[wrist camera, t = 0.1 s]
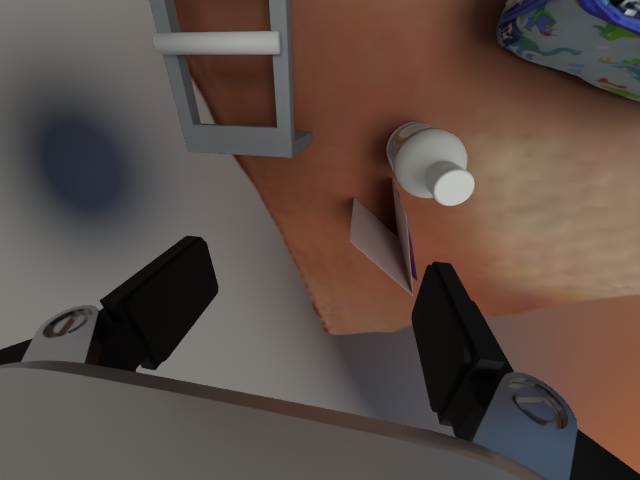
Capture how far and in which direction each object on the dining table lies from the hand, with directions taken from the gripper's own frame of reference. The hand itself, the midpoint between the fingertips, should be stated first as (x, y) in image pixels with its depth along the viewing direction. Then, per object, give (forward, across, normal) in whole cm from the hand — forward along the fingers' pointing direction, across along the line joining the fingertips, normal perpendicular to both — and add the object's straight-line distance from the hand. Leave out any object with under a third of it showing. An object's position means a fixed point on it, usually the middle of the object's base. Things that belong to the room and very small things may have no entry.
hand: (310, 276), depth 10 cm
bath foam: (+31, -9, -1) cm, 33 cm away
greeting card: (+31, -6, +10) cm, 34 cm away
